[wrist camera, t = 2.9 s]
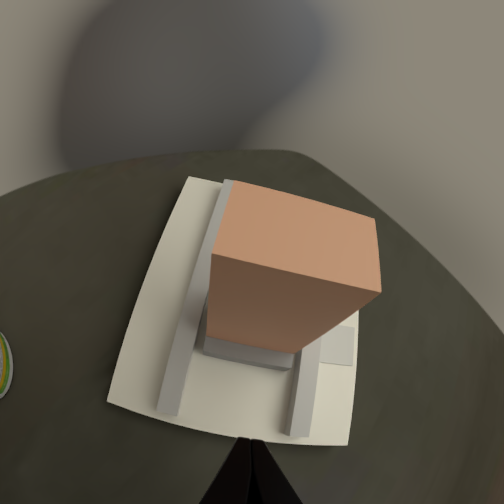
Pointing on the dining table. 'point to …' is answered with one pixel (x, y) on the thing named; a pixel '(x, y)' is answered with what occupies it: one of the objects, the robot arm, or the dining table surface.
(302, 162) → the dining table surface
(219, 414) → the switch board
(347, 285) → the slide tab
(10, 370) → the supplement bottle
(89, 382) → the dining table surface
